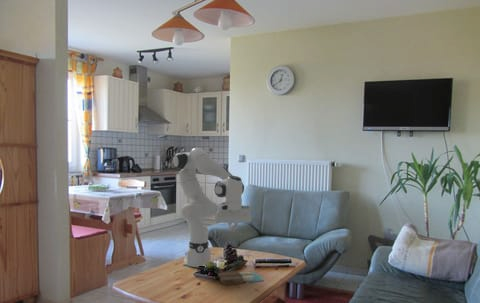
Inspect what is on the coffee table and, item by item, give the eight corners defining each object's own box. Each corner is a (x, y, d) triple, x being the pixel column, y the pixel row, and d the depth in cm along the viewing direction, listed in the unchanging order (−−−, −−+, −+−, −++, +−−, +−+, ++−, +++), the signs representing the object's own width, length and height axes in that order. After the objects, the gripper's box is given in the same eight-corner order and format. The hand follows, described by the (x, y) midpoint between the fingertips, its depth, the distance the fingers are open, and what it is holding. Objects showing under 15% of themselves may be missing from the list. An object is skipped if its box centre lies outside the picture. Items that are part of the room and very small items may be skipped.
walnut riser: (217, 276, 214) (217, 271, 214) (236, 274, 217) (236, 270, 217) (223, 285, 201) (223, 280, 201) (243, 283, 204) (243, 279, 204)
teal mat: (240, 274, 217) (240, 274, 217) (256, 273, 220) (256, 273, 220) (246, 282, 206) (246, 281, 206) (263, 281, 208) (263, 280, 208)
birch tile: (238, 275, 215) (238, 272, 215) (248, 274, 216) (249, 271, 216) (243, 281, 206) (243, 277, 206) (253, 280, 208) (253, 276, 208)
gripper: (249, 204, 215) (248, 228, 215) (214, 204, 209) (213, 229, 209) (253, 206, 209) (252, 231, 209) (217, 206, 203) (216, 232, 203)
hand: (232, 230), depth 209 cm, fingers closed
